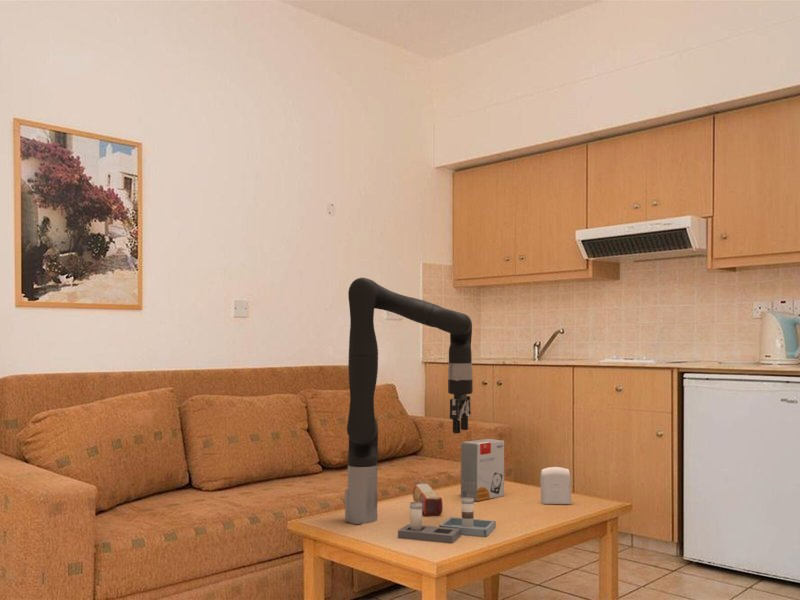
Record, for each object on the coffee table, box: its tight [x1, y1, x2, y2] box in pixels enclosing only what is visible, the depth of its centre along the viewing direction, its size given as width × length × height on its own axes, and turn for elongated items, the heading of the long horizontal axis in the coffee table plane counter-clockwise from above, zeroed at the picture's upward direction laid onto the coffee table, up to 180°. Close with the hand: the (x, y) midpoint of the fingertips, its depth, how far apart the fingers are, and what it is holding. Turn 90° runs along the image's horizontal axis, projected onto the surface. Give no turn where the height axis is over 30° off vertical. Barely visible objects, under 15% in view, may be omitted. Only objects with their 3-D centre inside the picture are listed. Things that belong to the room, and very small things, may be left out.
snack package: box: [412, 483, 443, 517], centre depth 246 cm, size 21×7×7 cm, turn 8°
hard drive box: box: [460, 438, 505, 502], centre depth 264 cm, size 16×8×20 cm, turn 132°
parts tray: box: [438, 516, 497, 538], centre depth 216 cm, size 14×11×2 cm
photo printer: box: [540, 466, 572, 505], centre depth 254 cm, size 10×4×12 cm, turn 84°
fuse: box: [409, 501, 423, 531], centre depth 211 cm, size 4×4×9 cm
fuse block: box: [397, 523, 462, 544], centre depth 209 cm, size 16×8×2 cm, turn 69°
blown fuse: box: [460, 497, 475, 528], centre depth 217 cm, size 4×4×9 cm
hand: (460, 431), depth 226 cm, fingers open, 8 cm apart
